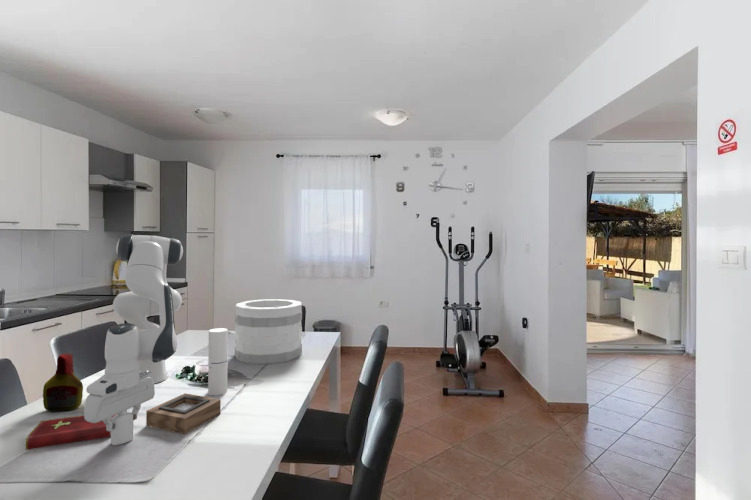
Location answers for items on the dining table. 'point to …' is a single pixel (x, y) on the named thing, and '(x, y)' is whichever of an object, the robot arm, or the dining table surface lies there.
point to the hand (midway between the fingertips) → (122, 424)
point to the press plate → (184, 406)
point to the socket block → (183, 413)
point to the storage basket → (268, 331)
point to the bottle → (63, 387)
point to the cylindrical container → (217, 361)
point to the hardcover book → (65, 432)
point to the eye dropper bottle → (122, 428)
